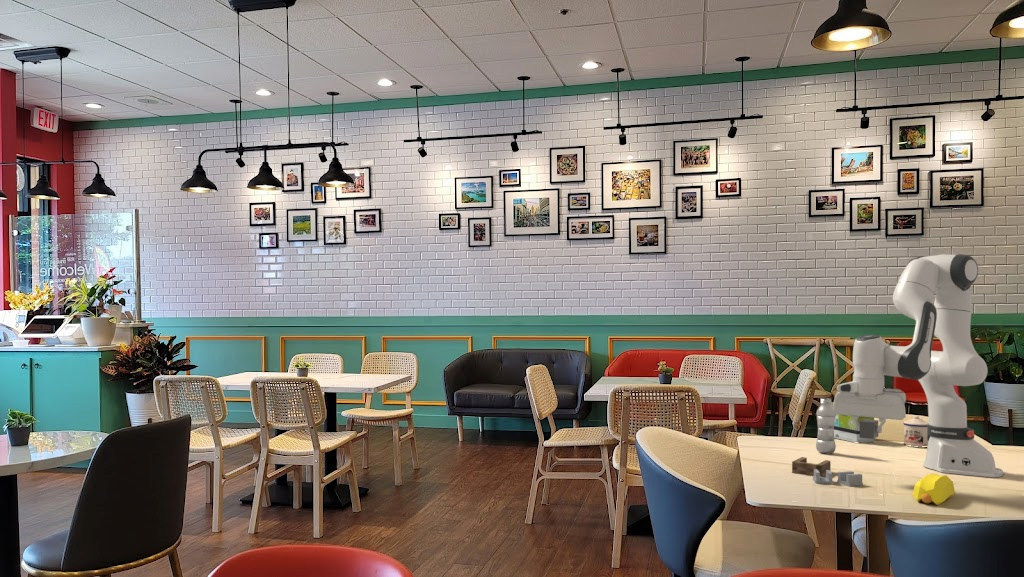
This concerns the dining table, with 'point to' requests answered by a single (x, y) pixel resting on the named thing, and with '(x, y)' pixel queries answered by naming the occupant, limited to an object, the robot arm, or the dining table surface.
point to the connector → (868, 429)
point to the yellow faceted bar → (933, 489)
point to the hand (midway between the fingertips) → (869, 431)
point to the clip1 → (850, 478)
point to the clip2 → (822, 480)
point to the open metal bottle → (825, 427)
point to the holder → (810, 467)
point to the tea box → (848, 428)
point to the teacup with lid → (915, 432)
